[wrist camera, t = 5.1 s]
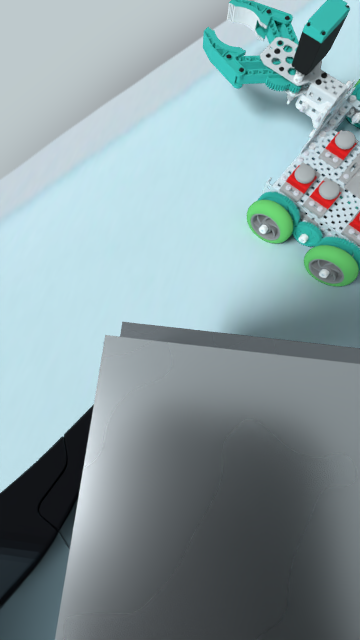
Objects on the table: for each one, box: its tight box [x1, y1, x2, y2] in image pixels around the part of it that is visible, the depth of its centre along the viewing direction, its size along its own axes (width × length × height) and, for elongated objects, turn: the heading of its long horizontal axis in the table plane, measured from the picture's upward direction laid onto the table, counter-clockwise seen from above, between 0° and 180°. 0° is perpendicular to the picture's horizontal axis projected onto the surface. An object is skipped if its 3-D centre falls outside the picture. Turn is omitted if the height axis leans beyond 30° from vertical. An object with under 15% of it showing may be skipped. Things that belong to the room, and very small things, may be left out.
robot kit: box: [203, 0, 360, 286], centre depth 20 cm, size 19×25×9 cm
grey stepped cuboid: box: [55, 322, 360, 640], centre depth 9 cm, size 5×5×14 cm
